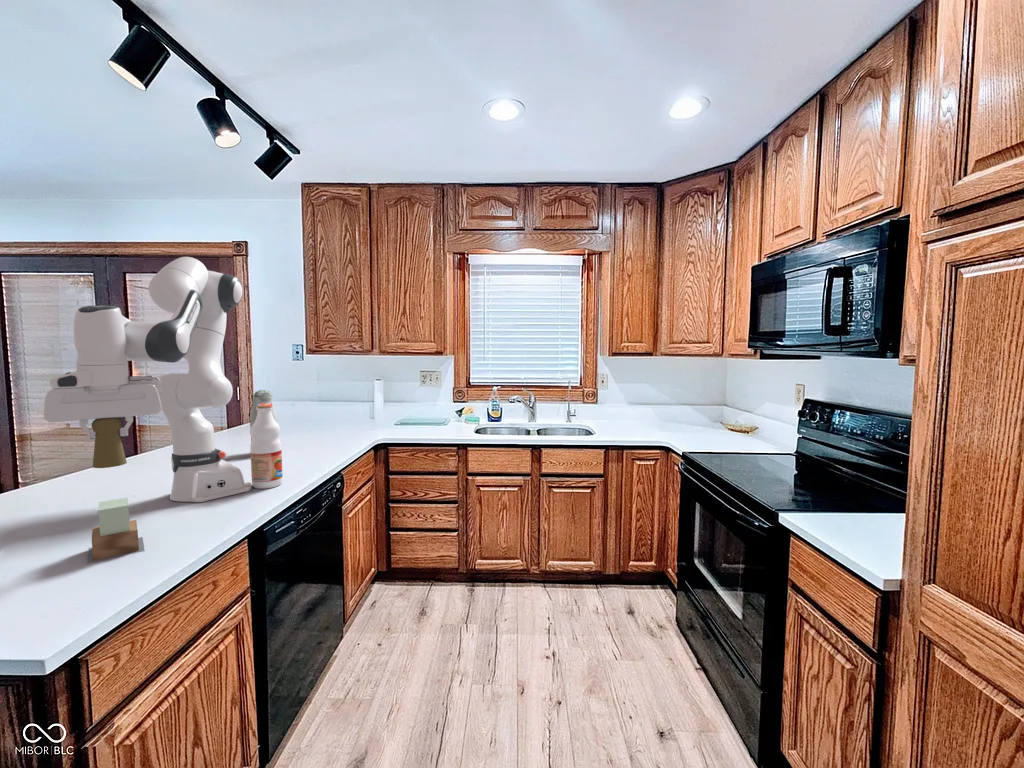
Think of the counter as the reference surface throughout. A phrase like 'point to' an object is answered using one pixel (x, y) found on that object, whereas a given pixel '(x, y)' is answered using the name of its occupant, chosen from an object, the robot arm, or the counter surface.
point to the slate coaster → (141, 548)
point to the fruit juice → (265, 449)
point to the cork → (108, 443)
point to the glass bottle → (261, 398)
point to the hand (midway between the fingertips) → (108, 437)
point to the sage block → (113, 516)
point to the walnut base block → (114, 542)
